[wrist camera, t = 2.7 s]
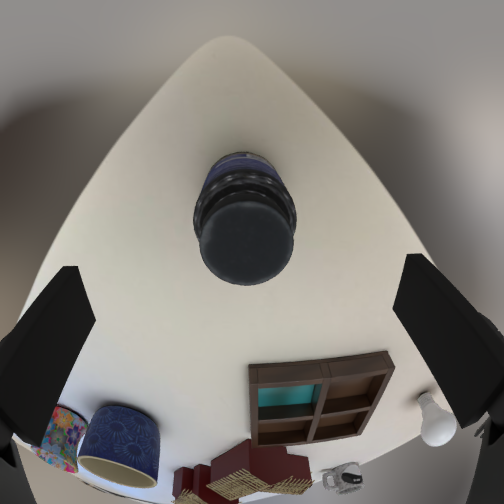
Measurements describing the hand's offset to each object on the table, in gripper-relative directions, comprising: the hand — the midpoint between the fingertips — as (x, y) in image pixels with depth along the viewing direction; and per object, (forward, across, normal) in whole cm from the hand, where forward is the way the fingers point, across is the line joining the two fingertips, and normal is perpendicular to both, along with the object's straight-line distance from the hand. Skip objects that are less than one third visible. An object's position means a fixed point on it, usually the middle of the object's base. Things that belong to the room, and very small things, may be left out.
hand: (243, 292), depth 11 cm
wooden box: (+15, +9, -30) cm, 35 cm away
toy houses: (+15, -7, -64) cm, 66 cm away
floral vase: (+16, -35, -40) cm, 55 cm away
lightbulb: (+15, +30, -35) cm, 49 cm away
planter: (+15, -20, -36) cm, 44 cm away
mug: (+15, +21, -64) cm, 69 cm away
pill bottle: (+15, 0, 0) cm, 15 cm away
